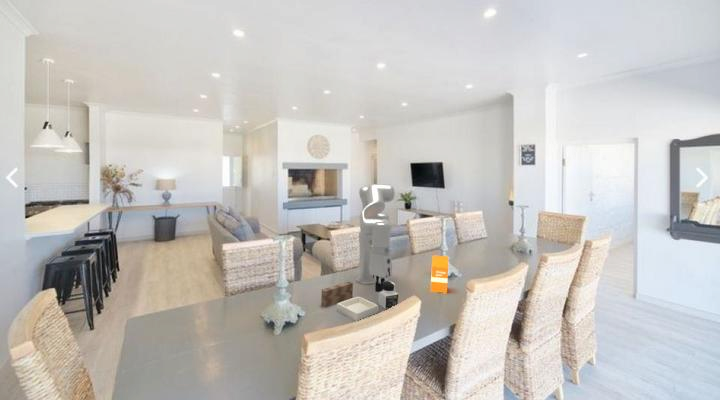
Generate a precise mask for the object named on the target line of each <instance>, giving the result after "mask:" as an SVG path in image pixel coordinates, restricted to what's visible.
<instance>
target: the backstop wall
mask: <svg viewBox="0 0 720 400" xmlns="http://www.w3.org/2000/svg"><path fill="white" fill-rule="evenodd" d="M353 287H354V283H353V282H351V281H346V282H343V283H339V284H337V285H333V286H329V287H326V288H323V289H321V299H320V300H321V302H320V303H321V304H320V305H321V307H324V308H327V307H329V306H333V305H337V303H340V302H343V301H346V300H349V299H352V298H354V297H353V289H354V288H353Z"/></svg>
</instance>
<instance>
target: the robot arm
mask: <svg viewBox="0 0 720 400" xmlns="http://www.w3.org/2000/svg"><path fill="white" fill-rule="evenodd" d="M358 193H359V198H360V201H361V204H362V210H361V212H360V215H359V229H360V230H359V232H358V243H359V244H358V245H359V257H358V258H359V259H358V260H359V262H358V263H359V264H358V276H357V277H356V278H355V280H356V282H357V283H359V284H361V285H372V284H375V286H374V287H375V289H374V290H375V292H377V293H379V292H381V291H383V283H384V282H386V281H391V280H390V277H391V276H392V275H393V262H392V255H391V254H390V253H392V252H391V249H390V245H391V244H390V240H391V237H390V236H391V232H392V223H391V222H390V216H389V215H388V213H387V212H383V211H384V210H385V207H386V204H385V203H390V202H392V201H393V200H394V198H395V194H396V193H395V187H393V185H391V184H385V183H383V184H382V183H381V184H379V183H377V184H376V183H371V184H370V185H366V186H361V187H360V188H359V192H358Z"/></svg>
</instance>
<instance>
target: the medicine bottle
mask: <svg viewBox="0 0 720 400" xmlns="http://www.w3.org/2000/svg"><path fill="white" fill-rule="evenodd" d="M395 287H396V284H395V282H393V281H391V280H389V281H385V282H384V283H383V291H381V292H378V300H377V301H378V303H377V305H379V306H380V307H381V308H383V309H384V310H385V311H386V309H387V310H389V309H388V308H391V307H392V306H395V305H397V304H399V293H398V292H396V291H395V290H396V288H395Z"/></svg>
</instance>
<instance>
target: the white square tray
mask: <svg viewBox="0 0 720 400" xmlns="http://www.w3.org/2000/svg"><path fill="white" fill-rule="evenodd" d="M379 306H380V305H379V304H378V303H377V304H376V303H375V302H372V301H370V300H367V299H366V298H363V297H361V296H358V295H357V296H355V297H352V298H351V299H348V300H345V301H342V302H339V303H336V311H337V312H338V313H340V314H342V315H344V316H346V317H348V318H349V319H352V320H353V321H356V322H359V321H361V320H360V319H362V320H363V318H364V319H366V318H369V317H371V316H373V315H375V314H378V313H379V308H380V307H379ZM358 320H359V321H358Z"/></svg>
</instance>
